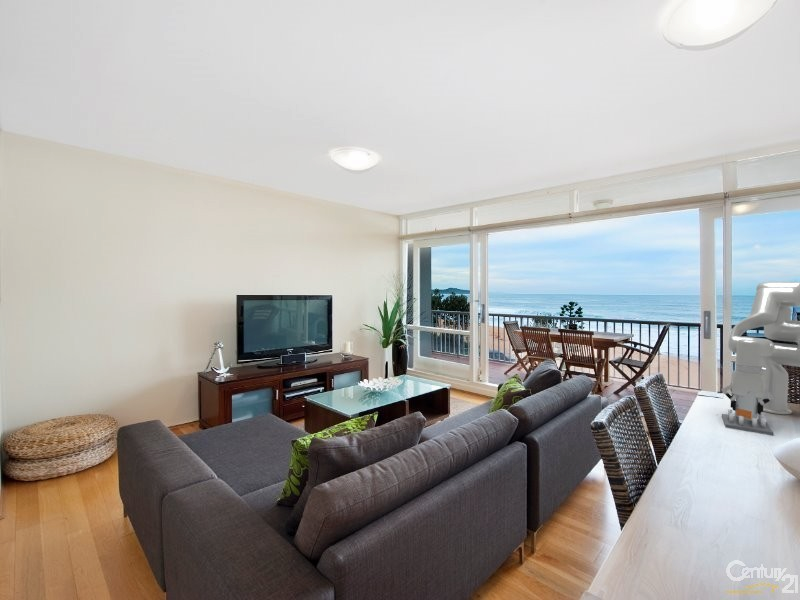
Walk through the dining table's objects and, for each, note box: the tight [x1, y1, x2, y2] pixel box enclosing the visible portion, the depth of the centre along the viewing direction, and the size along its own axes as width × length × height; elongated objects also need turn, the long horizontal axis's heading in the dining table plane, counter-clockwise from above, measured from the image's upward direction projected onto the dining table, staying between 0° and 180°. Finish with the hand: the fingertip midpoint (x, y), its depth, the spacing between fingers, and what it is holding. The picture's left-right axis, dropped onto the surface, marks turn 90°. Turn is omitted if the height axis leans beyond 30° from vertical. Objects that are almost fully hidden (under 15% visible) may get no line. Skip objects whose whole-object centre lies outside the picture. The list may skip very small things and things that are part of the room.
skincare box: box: [734, 391, 758, 421], centre depth 155 cm, size 6×4×12 cm
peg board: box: [721, 409, 774, 436], centre depth 155 cm, size 16×14×5 cm
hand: (746, 411), depth 155 cm, fingers closed on skincare box, 7 cm apart
